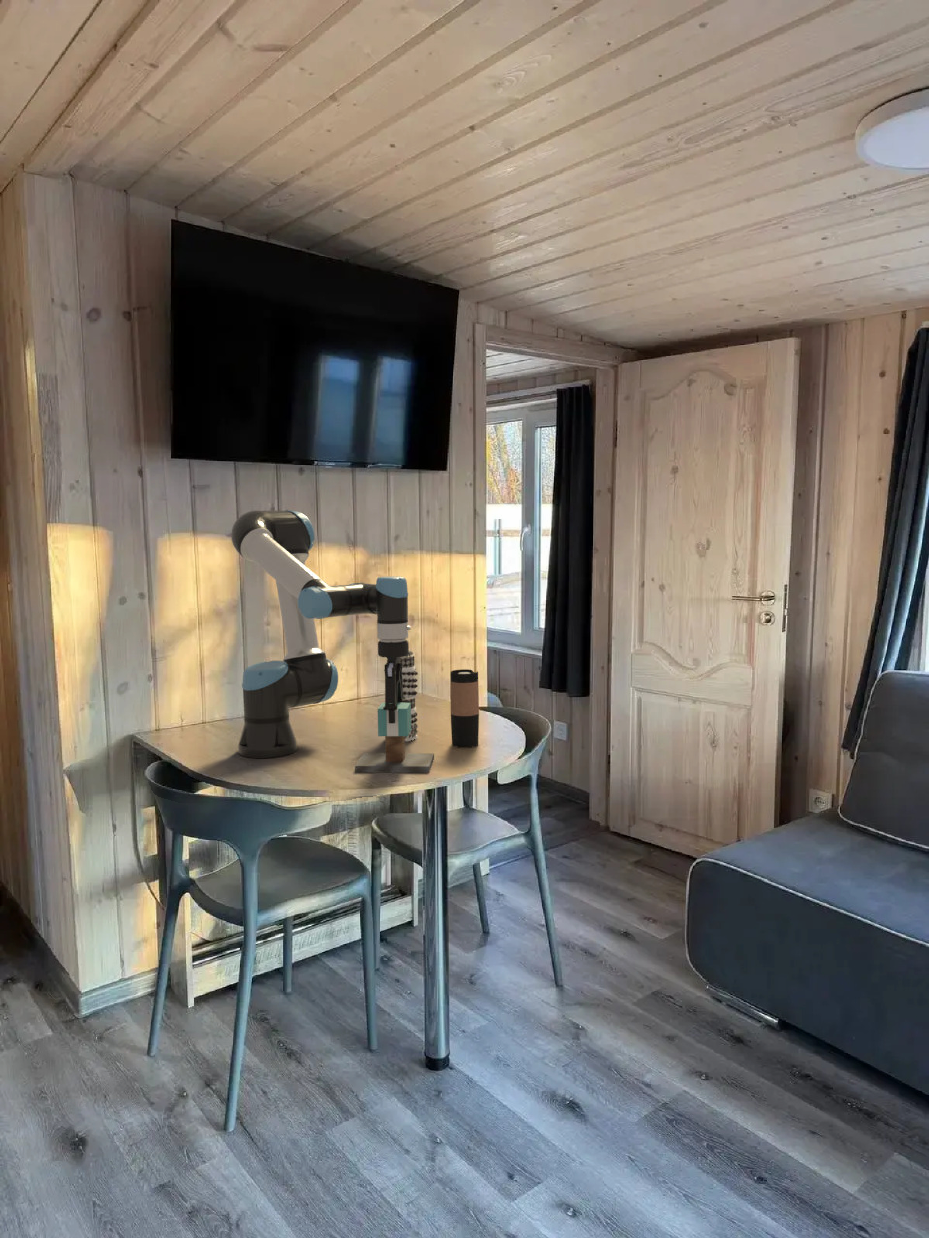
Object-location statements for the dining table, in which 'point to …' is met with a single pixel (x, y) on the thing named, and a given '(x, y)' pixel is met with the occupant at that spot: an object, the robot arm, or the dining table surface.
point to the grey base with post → (395, 759)
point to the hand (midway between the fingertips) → (395, 731)
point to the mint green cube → (403, 719)
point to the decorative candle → (410, 691)
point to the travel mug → (464, 708)
